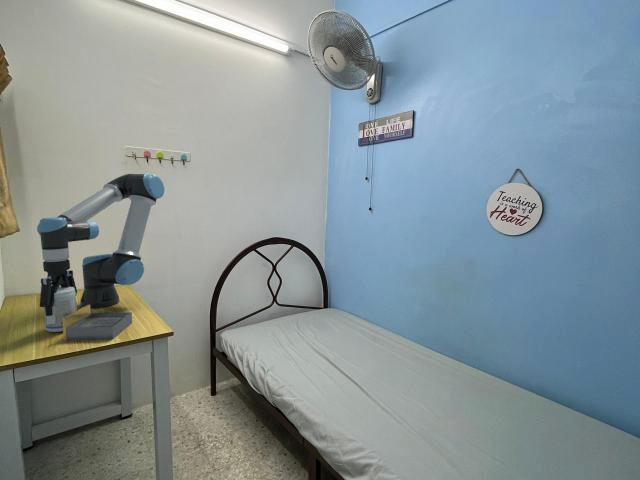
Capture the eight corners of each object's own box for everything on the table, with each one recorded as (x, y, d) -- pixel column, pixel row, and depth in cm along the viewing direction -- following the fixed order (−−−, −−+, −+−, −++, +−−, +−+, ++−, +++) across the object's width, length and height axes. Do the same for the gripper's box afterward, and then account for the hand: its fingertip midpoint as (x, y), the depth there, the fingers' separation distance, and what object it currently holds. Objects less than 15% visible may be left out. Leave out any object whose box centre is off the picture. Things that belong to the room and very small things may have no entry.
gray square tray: (89, 324, 124) (87, 304, 123) (132, 323, 127) (131, 303, 126) (63, 340, 110) (62, 318, 109) (113, 339, 112) (112, 317, 111)
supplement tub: (58, 322, 124) (54, 286, 122) (84, 322, 125) (81, 286, 123) (38, 333, 114) (34, 293, 112) (66, 332, 115) (63, 293, 113)
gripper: (64, 254, 126) (69, 308, 129) (20, 266, 105) (27, 330, 107) (85, 254, 127) (89, 307, 130) (46, 266, 106) (51, 330, 108)
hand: (61, 318), depth 119 cm, fingers closed on supplement tub, 10 cm apart
